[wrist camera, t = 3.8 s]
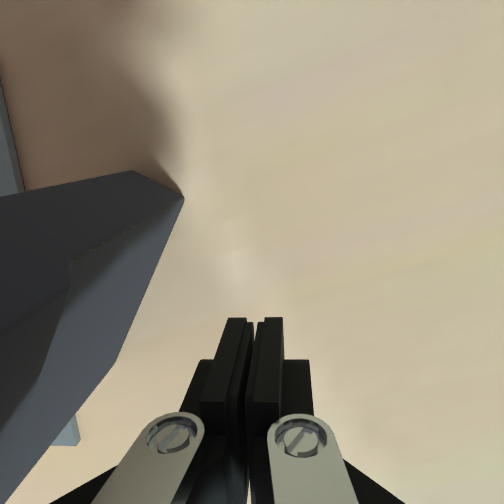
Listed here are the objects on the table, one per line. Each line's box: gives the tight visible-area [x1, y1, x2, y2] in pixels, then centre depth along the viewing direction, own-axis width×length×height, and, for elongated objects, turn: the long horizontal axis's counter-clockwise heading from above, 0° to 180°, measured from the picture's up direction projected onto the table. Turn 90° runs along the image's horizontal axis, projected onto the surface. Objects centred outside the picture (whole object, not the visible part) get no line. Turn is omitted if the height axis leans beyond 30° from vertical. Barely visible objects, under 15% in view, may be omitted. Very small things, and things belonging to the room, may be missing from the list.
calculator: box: [0, 171, 184, 504], centre depth 13 cm, size 11×4×15 cm, turn 154°
